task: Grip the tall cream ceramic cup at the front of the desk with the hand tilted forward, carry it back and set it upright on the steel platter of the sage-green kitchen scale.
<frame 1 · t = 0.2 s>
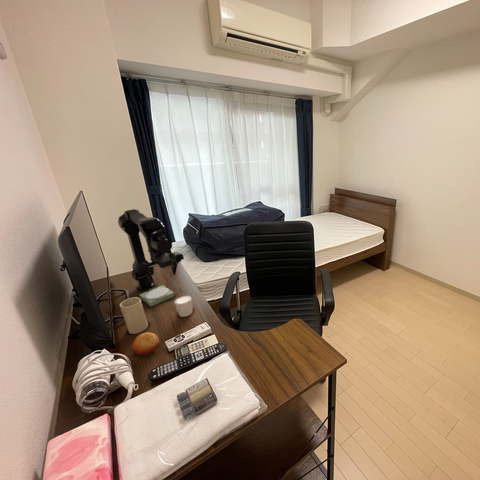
hand: (164, 278, 115), 14 cm above the table, tool pointing down, fingers open, 9 cm apart
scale: (157, 297, 127), on the table
white cylinder: (186, 313, 115), on the table
cup: (138, 328, 106), on the table
fruit: (148, 351, 94), on the table
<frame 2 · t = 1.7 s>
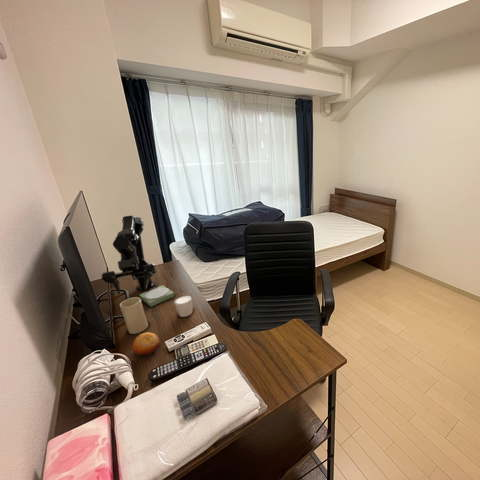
hand: (132, 291, 107), 13 cm above the table, tool tilted 45°, fingers open, 9 cm apart
nothing on the table moved.
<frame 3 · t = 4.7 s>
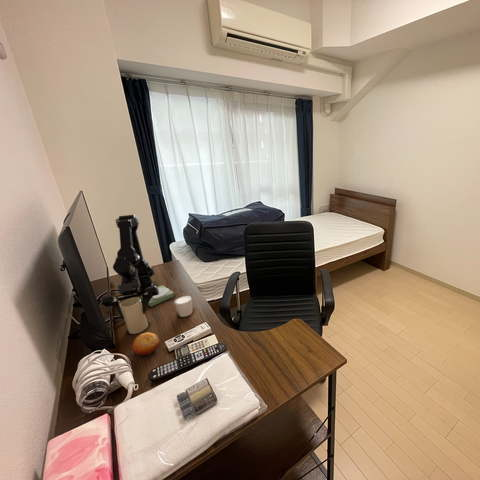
hand: (133, 316, 102), 7 cm above the table, tool tilted 45°, fingers closed on cup, 7 cm apart
cup: (138, 328, 106), on the table, touching gripper
everything else where it was.
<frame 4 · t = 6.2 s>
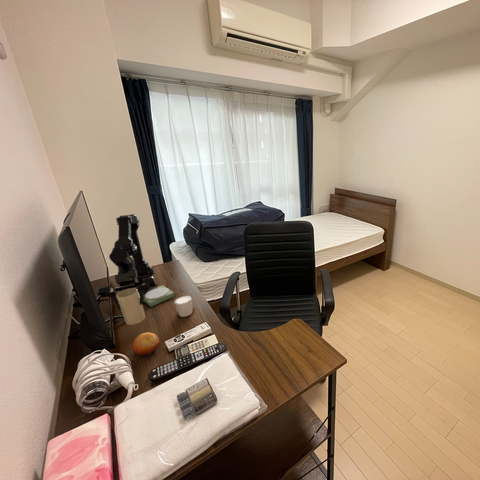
hand: (130, 307, 100), 12 cm above the table, tool tilted 45°, fingers closed on cup, 7 cm apart
cup: (135, 319, 104), point 4 cm above the table, touching gripper
everything else where it was.
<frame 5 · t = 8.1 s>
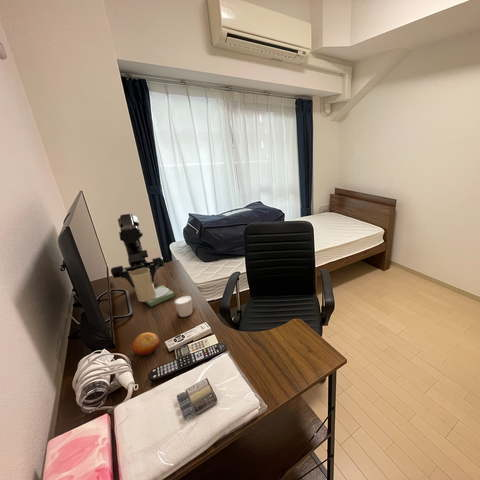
hand: (143, 284, 108), 16 cm above the table, tool tilted 45°, fingers closed on cup, 7 cm apart
cup: (147, 297, 112), point 8 cm above the table, touching gripper
everything else where it was.
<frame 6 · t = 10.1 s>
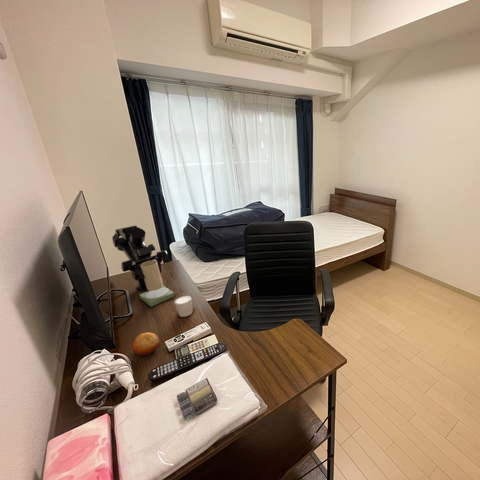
hand: (152, 275, 121), 13 cm above the table, tool tilted 45°, fingers closed on cup, 7 cm apart
cup: (155, 287, 124), point 6 cm above the table, touching gripper
everything else where it was.
when the fingers open (10 cm above the table, at t = 11.7 s): cup stays where it is, resting on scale.
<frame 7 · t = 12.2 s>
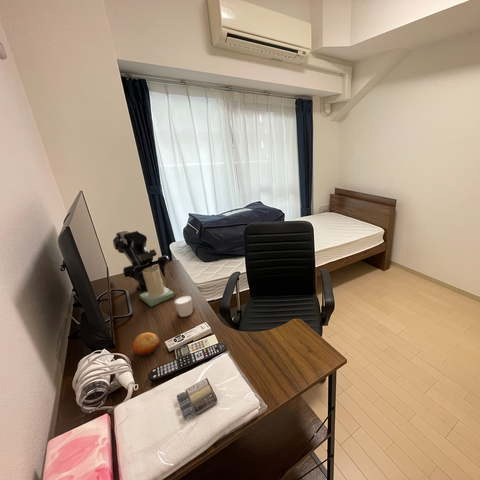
hand: (154, 280, 122), 10 cm above the table, tool tilted 45°, fingers open, 9 cm apart
cup: (157, 292, 125), point 3 cm above the table, touching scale
everything else where it was.
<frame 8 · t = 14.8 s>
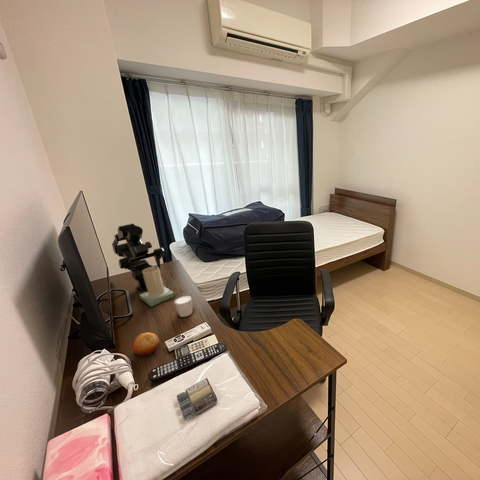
hand: (149, 272, 123), 14 cm above the table, tool tilted 45°, fingers open, 9 cm apart
nothing on the table moved.
at the end: cup inside the target area on the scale (0.1 cm from its centre), point 2.8 cm above the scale's base; cup tilted 0°; the gripper is holding nothing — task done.
